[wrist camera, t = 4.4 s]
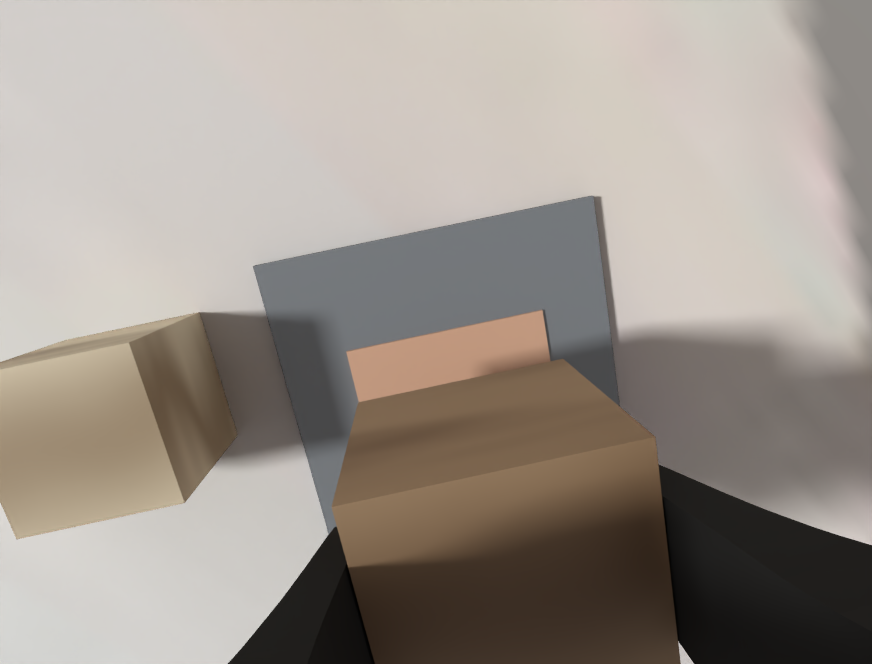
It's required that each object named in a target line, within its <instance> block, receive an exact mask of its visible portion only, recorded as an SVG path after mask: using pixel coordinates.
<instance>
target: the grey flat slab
mask: <svg viewBox="0 0 872 664" xmlns="http://www.w3.org/2000/svg"><path fill="white" fill-rule="evenodd" d="M253 268H254V272H255V275H256V279H257V282H258V286H259V289H260V293H261V296H262V300H263V303H264V307H265V311H266V314H267V318H268V321H269V325H270V328H271V332H272V335H273V339H274V342H275V346H276V349H277V353H278V356H279V360H280V364H281V367H282V371H283V374H284V378H285V381H286V385H287V388H288V392H289V395H290V399H291V402H292V406H293V409H294V413H295V416H296V420H297V424H298V427H299V431H300V434H301V438H302V441H303V445H304V448H305V452H306V455H307V459H308V462H309V466H310V469H311V473H312V477H313V480H314V484H315V487H316V491H317V494H318V498H319V501H320V505H321V508H322V512H323V515H324V519H325V522H326V526H327V529H328V533H329V534H330V532H331V531H332V530H333V528H334V527H337V525H336V522H335V518H334V515H333V511H332V503H333V499H334V495H335V491H336V487H337V483H338V479H339V476H340V472H341V468H342V464H343V460H344V456H345V452H346V448H347V444H348V440H349V436H350V432H351V428H352V424H353V420H354V417H355V413H356V409H357V405H358V402H362V401H367V400H372V399H376V398H381V397H386V396H390V395H395V394H400V393H404V392H409V391H414V390H418V389H423V388H428V387H433V386H437V385H442V384H447V383H451V382H456V381H461V380H465V379H470V378H475V377H479V376H484V375H489V374H493V373H498V372H503V371H508V370H512V369H517V368H522V367H526V366H531V365H536V364H540V363H545V362H550V361H554V360H559V359H564V360H565V361H566V362H568V363H569V364H570V365H571V366H572V367H573V368H575V369H576V370H577V371H578V372H579V373H581V374H582V375H583V376H584V377H585V378H586V379H588V380H589V381H590V382H591V383H592V384H593V385H595V386H596V387H597V388H598V389H599V390H601V391H602V392H603V393H604V394H605V395H606V396H608V397H609V398H610V399H611V400H612V401H614V402H615V403H616V404H617V405H618V406H619V407H620V404H619V396H618V388H617V380H616V372H615V364H614V356H613V348H612V341H611V333H610V325H609V317H608V309H607V301H606V293H605V285H604V277H603V269H602V261H601V253H600V245H599V237H598V229H597V222H596V214H595V206H594V198H593V196H588V197H583V198H578V199H573V200H568V201H564V202H559V203H554V204H549V205H544V206H539V207H535V208H530V209H525V210H520V211H515V212H510V213H506V214H501V215H496V216H491V217H486V218H482V219H477V220H472V221H467V222H462V223H457V224H453V225H448V226H443V227H438V228H433V229H429V230H424V231H419V232H414V233H409V234H404V235H400V236H395V237H390V238H385V239H380V240H375V241H371V242H366V243H361V244H356V245H351V246H347V247H342V248H337V249H332V250H327V251H322V252H318V253H313V254H308V255H303V256H298V257H294V258H289V259H284V260H279V261H274V262H269V263H265V264H260V265H255V266H253Z"/></svg>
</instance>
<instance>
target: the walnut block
mask: <svg viewBox="0 0 872 664" xmlns="http://www.w3.org/2000/svg"><path fill="white" fill-rule="evenodd" d="M332 511H333V515H334V518H335V522H336V525H337V529H338V533H339V536H340V540H341V543H342V547H343V551H344V554H345V558H346V561H347V565H348V569H349V572H350V576H351V579H352V583H353V587H354V590H355V594H356V597H357V601H358V605H359V608H360V612H361V616H362V619H363V623H364V626H365V630H366V634H367V637H368V641H369V644H370V648H371V652H372V655H373V659H374V662H375V664H680V655H679V646H678V637H677V628H676V619H675V610H674V601H673V592H672V583H671V574H670V565H669V556H668V547H667V538H666V529H665V520H664V511H663V502H662V493H661V484H660V475H659V466H658V457H657V448H656V439H655V436H654V435H652V434H651V433H650V432H649V431H648V430H647V429H645V428H644V427H643V426H642V425H641V424H639V423H638V422H637V421H636V420H635V419H634V418H632V417H631V416H630V415H629V414H628V413H627V412H625V411H624V410H623V409H622V408H621V407H619V406H618V405H617V404H616V403H615V402H614V401H612V400H611V399H610V398H609V397H608V396H606V395H605V394H604V393H603V392H602V391H601V390H599V389H598V388H597V387H596V386H595V385H593V384H592V383H591V382H590V381H589V380H588V379H586V378H585V377H584V376H583V375H582V374H581V373H579V372H578V371H577V370H576V369H575V368H573V367H572V366H571V365H570V364H569V363H568V362H566V361H565V360H564V359H559V360H554V361H550V362H545V363H540V364H536V365H531V366H526V367H522V368H517V369H512V370H508V371H503V372H498V373H493V374H489V375H484V376H479V377H475V378H470V379H465V380H461V381H456V382H451V383H447V384H442V385H437V386H433V387H428V388H423V389H418V390H414V391H409V392H404V393H400V394H395V395H390V396H386V397H381V398H376V399H372V400H367V401H362V402H358V405H357V409H356V413H355V417H354V420H353V424H352V428H351V432H350V436H349V440H348V444H347V448H346V452H345V456H344V460H343V464H342V468H341V472H340V476H339V479H338V483H337V487H336V491H335V495H334V499H333V503H332Z"/></svg>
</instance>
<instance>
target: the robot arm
mask: <svg viewBox="0 0 872 664" xmlns="http://www.w3.org/2000/svg"><path fill="white" fill-rule="evenodd" d="M658 466H659V475H660V484H661V493H662V502H663V511H664V520H665V529H666V538H667V547H668V556H669V565H670V574H671V583H672V592H673V601H674V610H675V619H676V628H677V637H678V641H679V643H680V644H681V645H682V647H683V648H684V650H685V651H686V653H687V654H688V656H689V657H690V658H691V660H692V661H693V663H694V664H872V545H869V544H865V543H862V542H859V541H855V540H852V539H849V538H845V537H842V536H839V535H835V534H832V533H829V532H826V531H823V530H820V529H817V528H814V527H811V526H809V525H806V524H803V523H800V522H798V521H795V520H792V519H789V518H787V517H784V516H781V515H778V514H776V513H773V512H770V511H768V510H765V509H763V508H760V507H758V506H755V505H752V504H750V503H747V502H745V501H743V500H740V499H738V498H735V497H733V496H730V495H728V494H726V493H723V492H721V491H719V490H716V489H714V488H712V487H709V486H707V485H705V484H702V483H700V482H698V481H696V480H693V479H691V478H689V477H686V476H684V475H682V474H679V473H677V472H675V471H673V470H670V469H668V468H666V467H663V466H661V465H658ZM228 664H375V662H374V659H373V655H372V652H371V648H370V644H369V641H368V637H367V634H366V630H365V626H364V623H363V619H362V616H361V612H360V608H359V605H358V601H357V597H356V594H355V590H354V587H353V583H352V579H351V576H350V572H349V569H348V565H347V561H346V558H345V554H344V551H343V547H342V543H341V540H340V536H339V533H338V529H337V527H334V528H333V530H332V531H331V532H330V534H329V535H328V536H327V538H326V539H325V541H324V542H323V543H322V545H321V546H320V548H319V549H318V550H317V552H316V553H315V555H314V556H313V557H312V559H311V560H310V562H309V563H308V564H307V566H306V567H305V569H304V570H303V571H302V573H301V574H300V575H299V577H298V578H297V580H296V581H295V582H294V584H293V585H292V586H291V588H290V589H289V590H288V592H287V593H286V594H285V596H284V597H283V598H282V600H281V601H280V602H279V603H278V605H277V606H276V607H275V608H274V610H273V611H272V612H271V613H270V614H269V616H268V617H267V618H266V619H265V621H264V622H263V623H262V624H261V625H260V627H259V628H258V629H257V630H256V632H255V633H254V634H253V635H252V637H251V638H250V639H249V640H248V641H247V643H246V644H245V645H244V646H243V647H242V648H241V650H240V651H239V652H238V653H237V654H236V655H235V656H234V658H233V659H232V660H231V661H230V662H229V663H228Z"/></svg>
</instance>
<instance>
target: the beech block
mask: <svg viewBox="0 0 872 664" xmlns="http://www.w3.org/2000/svg"><path fill="white" fill-rule="evenodd" d="M237 435H238V434H237V431H236V428H235V425H234V422H233V418H232V415H231V412H230V409H229V406H228V402H227V399H226V396H225V393H224V390H223V386H222V383H221V380H220V377H219V374H218V370H217V367H216V364H215V361H214V358H213V355H212V351H211V348H210V345H209V342H208V339H207V335H206V332H205V329H204V326H203V323H202V319H201V316H200V313H199V312H198V313H193V314H188V315H184V316H179V317H174V318H169V319H164V320H160V321H155V322H150V323H145V324H140V325H136V326H131V327H126V328H121V329H116V330H112V331H107V332H102V333H97V334H92V335H88V336H83V337H78V338H73V339H68V340H64V341H61V342H58V343H55V344H52V345H50V346H47V347H44V348H41V349H38V350H35V351H32V352H29V353H26V354H23V355H20V356H17V357H14V358H12V359H9V360H6V361H3V362H0V503H1V505H2V507H3V509H4V512H5V514H6V516H7V518H8V521H9V523H10V525H11V528H12V530H13V532H14V534H15V537H16V539H20V538H25V537H30V536H34V535H39V534H44V533H48V532H53V531H57V530H62V529H67V528H71V527H76V526H81V525H85V524H90V523H94V522H99V521H104V520H108V519H113V518H118V517H122V516H127V515H131V514H136V513H141V512H145V511H150V510H155V509H159V508H164V507H168V506H173V505H178V504H182V503H185V502H186V501H187V499H188V498H189V497H190V495H191V494H192V493H193V492H194V490H195V489H196V488H197V487H198V485H199V484H200V483H201V481H202V480H203V479H204V478H205V476H206V475H207V474H208V472H209V471H210V470H211V469H212V467H213V466H214V465H215V464H216V462H217V461H218V460H219V458H220V457H221V456H222V455H223V453H224V452H225V451H226V449H227V448H228V447H229V446H230V444H231V443H232V442H233V441H234V439H235V438H236V437H237Z"/></svg>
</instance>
